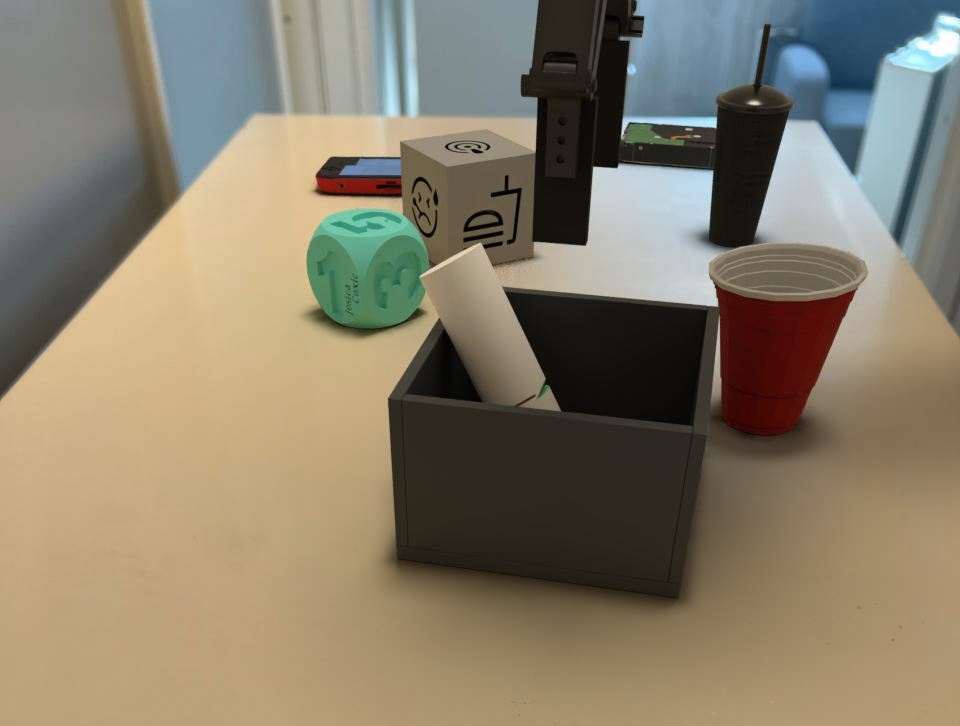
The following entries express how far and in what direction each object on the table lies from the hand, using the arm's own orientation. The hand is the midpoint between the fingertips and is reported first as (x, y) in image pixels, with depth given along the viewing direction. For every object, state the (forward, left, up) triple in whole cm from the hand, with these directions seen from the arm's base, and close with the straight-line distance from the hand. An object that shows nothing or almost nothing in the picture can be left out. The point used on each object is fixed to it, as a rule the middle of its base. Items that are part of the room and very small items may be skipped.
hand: (579, 200), depth 55 cm
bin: (0, 0, -20) cm, 20 cm away
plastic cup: (-13, -15, -20) cm, 28 cm away
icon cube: (+17, -46, -20) cm, 53 cm away
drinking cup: (-10, -56, -20) cm, 60 cm away
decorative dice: (+22, -28, -20) cm, 41 cm away
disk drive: (-2, -87, -20) cm, 89 cm away
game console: (+33, -67, -20) cm, 77 cm away
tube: (0, 0, -18) cm, 18 cm away
